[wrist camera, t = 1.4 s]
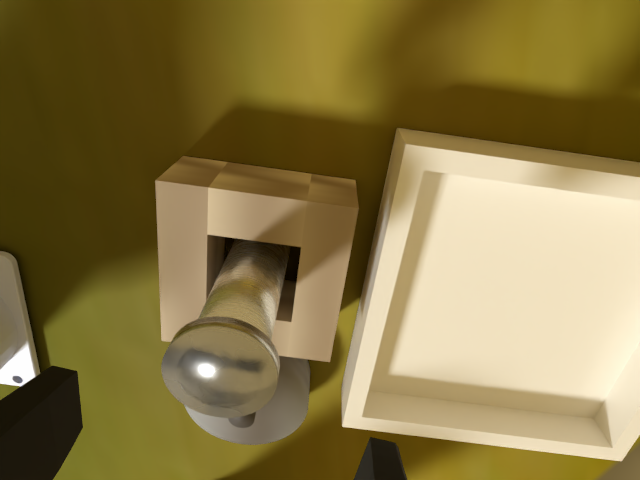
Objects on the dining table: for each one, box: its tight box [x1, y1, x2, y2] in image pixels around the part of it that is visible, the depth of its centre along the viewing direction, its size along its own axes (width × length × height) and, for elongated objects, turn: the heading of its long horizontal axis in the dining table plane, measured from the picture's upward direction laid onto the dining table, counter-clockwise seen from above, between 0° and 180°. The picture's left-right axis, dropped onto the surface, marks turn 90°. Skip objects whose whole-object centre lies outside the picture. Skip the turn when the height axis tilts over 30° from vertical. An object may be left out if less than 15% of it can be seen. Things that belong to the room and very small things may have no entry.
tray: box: [342, 128, 640, 461], centre depth 19 cm, size 14×14×2 cm
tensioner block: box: [155, 156, 359, 445], centre depth 19 cm, size 7×14×3 cm, turn 172°
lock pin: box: [162, 238, 291, 418], centre depth 16 cm, size 3×3×8 cm
